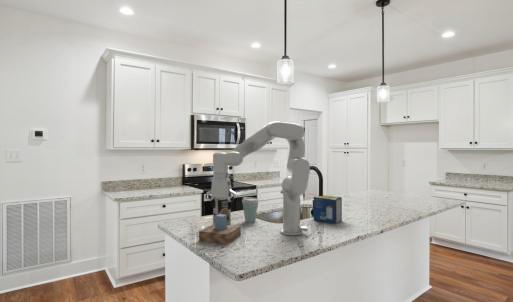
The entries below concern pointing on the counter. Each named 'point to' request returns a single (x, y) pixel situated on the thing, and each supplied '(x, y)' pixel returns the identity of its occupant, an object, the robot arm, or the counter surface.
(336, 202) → the protein box
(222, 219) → the peg
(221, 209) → the coffee box
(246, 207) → the disposable coffee cup
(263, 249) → the counter surface
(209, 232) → the socket block
